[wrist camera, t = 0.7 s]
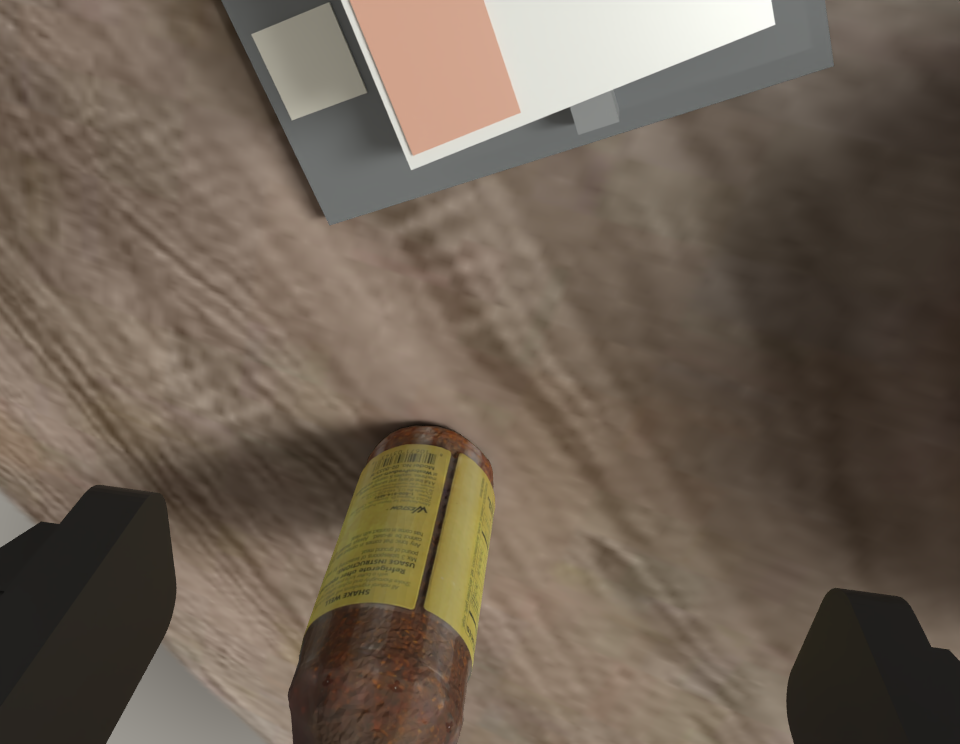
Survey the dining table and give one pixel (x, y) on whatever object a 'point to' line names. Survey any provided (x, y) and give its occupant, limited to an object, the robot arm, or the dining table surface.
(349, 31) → the switch box
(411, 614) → the sauce bottle
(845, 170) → the dining table surface
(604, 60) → the switch
